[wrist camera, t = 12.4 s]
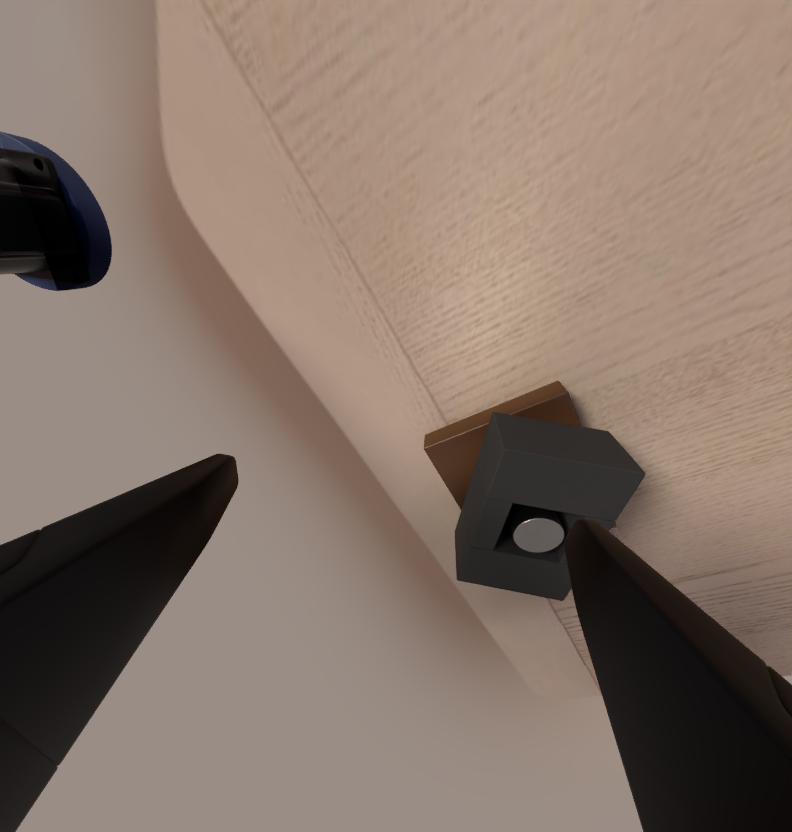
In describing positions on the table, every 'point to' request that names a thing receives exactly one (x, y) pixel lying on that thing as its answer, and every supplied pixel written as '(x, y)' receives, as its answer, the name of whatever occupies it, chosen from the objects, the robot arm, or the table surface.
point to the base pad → (460, 451)
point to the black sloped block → (537, 499)
